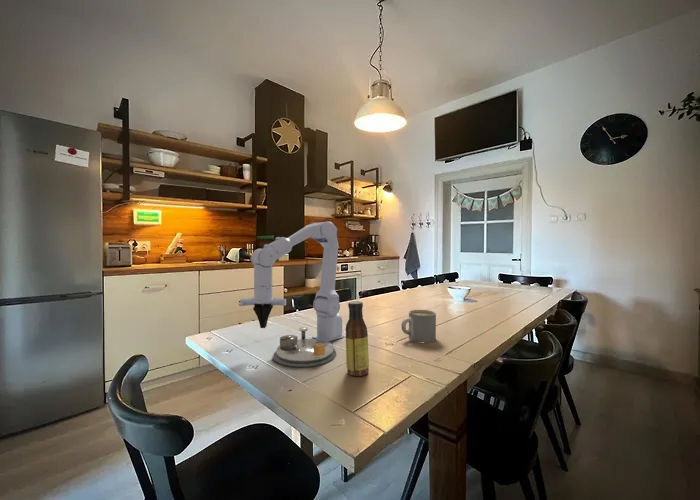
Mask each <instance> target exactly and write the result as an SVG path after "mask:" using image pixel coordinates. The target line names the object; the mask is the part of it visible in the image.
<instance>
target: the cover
mask: <svg viewBox="0 0 700 500" xmlns="http://www.w3.org/2000/svg"><path fill="white" fill-rule="evenodd" d="M297 340H298V336H297V335H294V334H286V335H282V336H280V337H279V346H280V349H281V350H286V351H288V350H294V349H296V348H297Z"/></svg>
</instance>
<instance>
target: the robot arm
mask: <svg viewBox="0 0 700 500" xmlns="http://www.w3.org/2000/svg"><path fill="white" fill-rule="evenodd" d="M337 235H338V228H337V226H336V225H335V224H334V223H333V222H331V221H330V220H329V221H323V222H311V223H310V224H307V225H305V226H304V227H303V228H301V229H299V230H297V231H296V232H295V233H293V234H292V235H289V236H288V237H284V236H281V237H280V236H277V237H275V240H274V241H272V242H270V243H268V244H267V243H266V244H264V245H263V248H257V249H255V250H254V251H253V253H252V254H251V256H250V261H251V264H252V265H253V297H248V298H246V297H244V298H243V297H242V298H241V299H239V301H240V302H239V305H240V306H253V311H254V314H255V315H256V317H257V320H258V323H259V328H260V329H266V327H267V324H268V320H269V317H270V313H271V311H272V309H273V307H274V306H283V307H285V306H286V305H287V298H277V297H273V265H275V263H276V261H277V260H278V259H280V258H283V256H285V255H287V254H289V253H290V252H291V251H292V249H293V247H294V246H295V245H297V244H299V243H300V244H301V242H303V241H305V240H307V239H309V238H311V239H313V240H314V241H316V242H317V243H319V244H320V245H321V247H322V248H323V252H322V253H323V254H322V263H321V264H322V265H321V275H320V276H321V277H320V286H319V287H320V289H319V290H318V291H317V292H316V293H315V298H314V300H313V302H312V303H313V304H312V307H313V310H314V311H315V314H316V335H312V338H311V339H318V340H323V341H327V342H331V341H335V340H338V339H343V338H344V337H345V336H344V334H343V318H342V316H341V315H340V309H341V303H340V296H339V294H338V293H337V292H336V277H337V266H338V256H339V253H338V252H339V241H338V236H337Z"/></svg>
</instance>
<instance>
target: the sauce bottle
mask: <svg viewBox="0 0 700 500" xmlns="http://www.w3.org/2000/svg"><path fill="white" fill-rule="evenodd" d="M347 304H348V305H347V307H348V318H349V319H348V321H347V322H346V324H345V355H346V356H345V358H346V359H345V361H346V369H347V374H348V375H351V376H354V377H362V376H366V375H367V374H368V373H369V368H370V367H369V366H370V361H369V360H370V359H369V337H368V334H369V333H368V326H367V325H366V323H365V321H364V315H363V307H364V305H363V302H362V301H360V300H353V301H352V300H351V301H349V302H348V303H347Z"/></svg>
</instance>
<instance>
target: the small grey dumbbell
mask: <svg viewBox="0 0 700 500" xmlns="http://www.w3.org/2000/svg"><path fill="white" fill-rule="evenodd" d="M298 330H299V331H300V332H301V333H300V335H301V338H300V339H306V332H307V331H308V327H305V326H302V327H299V329H298Z"/></svg>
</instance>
